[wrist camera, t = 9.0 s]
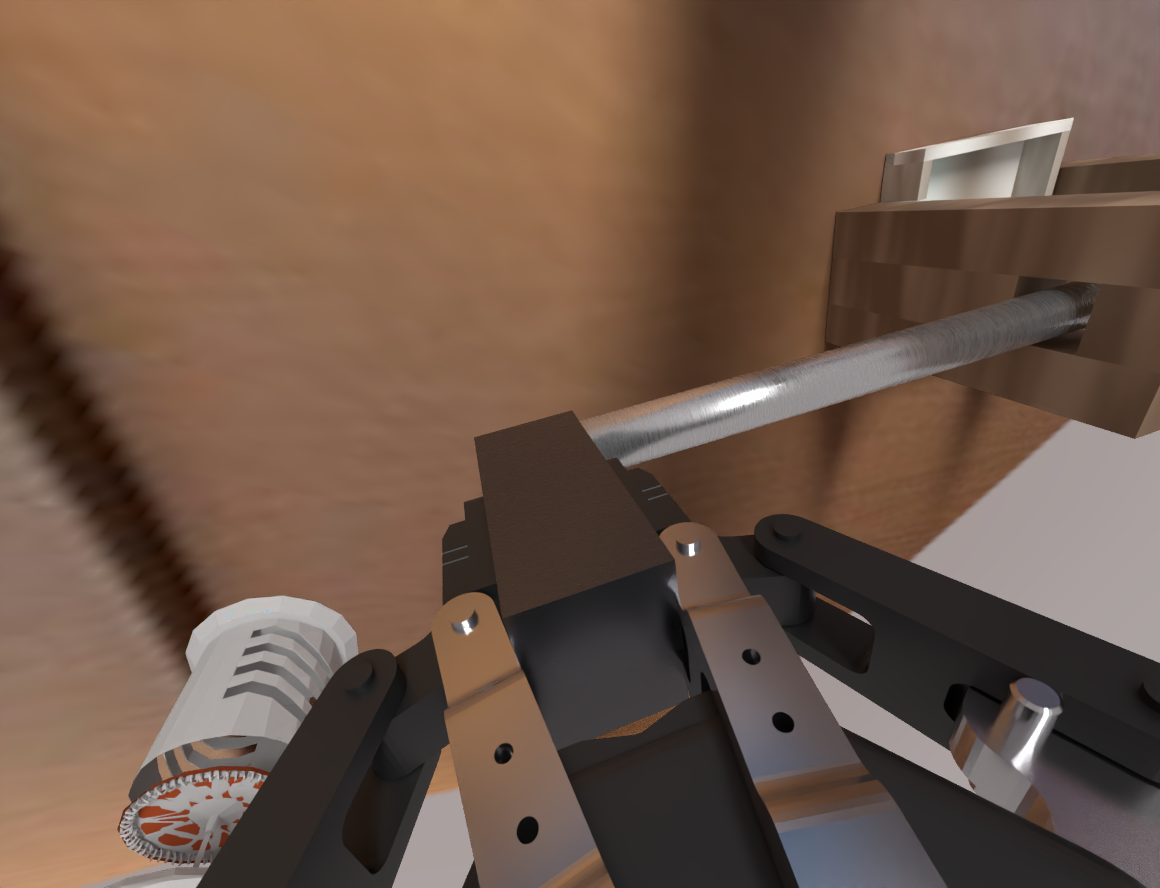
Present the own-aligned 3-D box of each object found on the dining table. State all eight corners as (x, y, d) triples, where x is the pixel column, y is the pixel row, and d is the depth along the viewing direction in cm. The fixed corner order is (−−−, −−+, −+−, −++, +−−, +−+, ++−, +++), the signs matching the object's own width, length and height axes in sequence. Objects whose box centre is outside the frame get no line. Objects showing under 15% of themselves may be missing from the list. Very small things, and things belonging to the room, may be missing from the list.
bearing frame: (822, 375, 32) (1109, 492, 18) (840, 164, 26) (1294, 99, 12) (1008, 321, 35) (1384, 388, 21) (1065, 117, 29) (1651, 19, 15)
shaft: (501, 508, 17) (552, 754, 9) (470, 412, 15) (502, 618, 7) (1042, 343, 21) (1399, 416, 13) (1072, 251, 19) (1510, 272, 11)
